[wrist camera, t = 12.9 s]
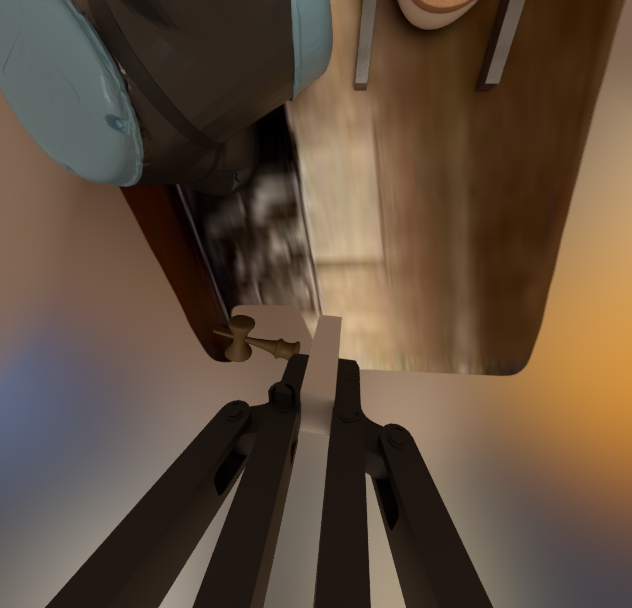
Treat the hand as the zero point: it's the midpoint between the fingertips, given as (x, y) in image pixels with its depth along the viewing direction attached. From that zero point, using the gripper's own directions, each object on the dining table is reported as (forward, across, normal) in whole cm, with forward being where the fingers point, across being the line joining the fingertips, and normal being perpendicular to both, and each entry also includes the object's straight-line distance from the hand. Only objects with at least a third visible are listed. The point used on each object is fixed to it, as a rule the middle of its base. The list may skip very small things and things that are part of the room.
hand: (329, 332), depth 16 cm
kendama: (+29, -17, -23) cm, 41 cm away
